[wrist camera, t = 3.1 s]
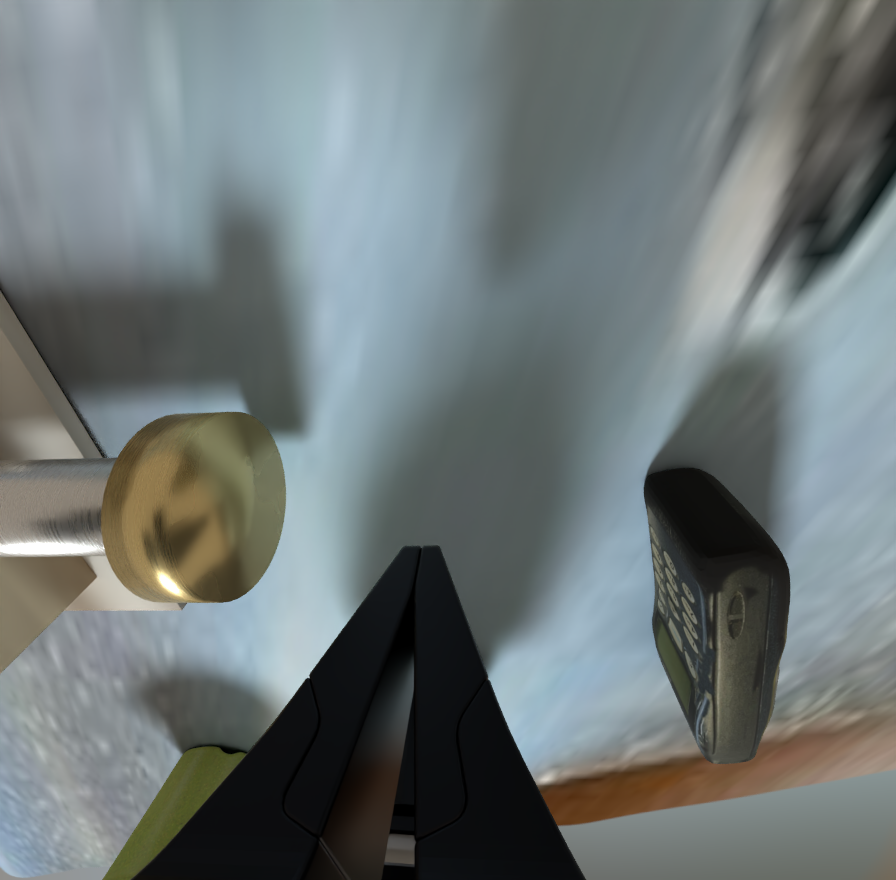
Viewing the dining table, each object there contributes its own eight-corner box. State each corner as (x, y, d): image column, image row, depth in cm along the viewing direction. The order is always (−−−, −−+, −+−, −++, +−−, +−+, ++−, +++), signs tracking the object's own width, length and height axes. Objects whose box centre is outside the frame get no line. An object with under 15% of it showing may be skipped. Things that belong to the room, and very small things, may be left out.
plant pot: (313, 779, 30) (263, 965, 23) (219, 792, 32) (145, 966, 25) (235, 724, 26) (142, 931, 18) (133, 743, 28) (13, 936, 21)
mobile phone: (691, 571, 10) (705, 800, 17) (817, 547, 10) (781, 795, 16) (625, 468, 15) (657, 683, 21) (710, 448, 14) (716, 676, 21)
